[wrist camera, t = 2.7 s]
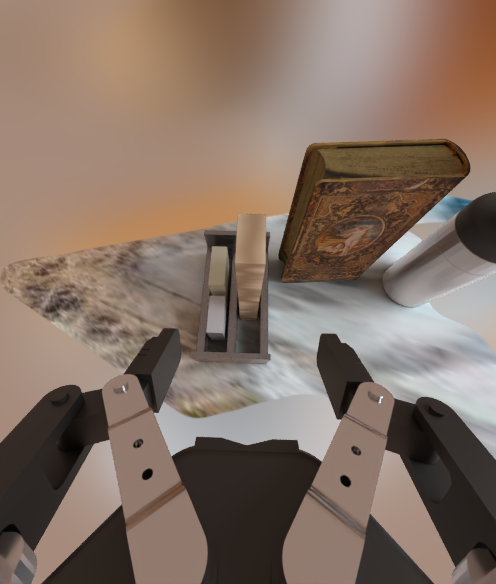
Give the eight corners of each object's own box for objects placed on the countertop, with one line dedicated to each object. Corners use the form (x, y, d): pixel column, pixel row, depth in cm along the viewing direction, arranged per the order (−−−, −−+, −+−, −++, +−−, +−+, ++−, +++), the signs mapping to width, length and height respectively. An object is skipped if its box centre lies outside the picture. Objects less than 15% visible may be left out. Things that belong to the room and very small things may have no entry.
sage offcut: (230, 270, 47) (227, 246, 38) (228, 303, 44) (224, 285, 36) (218, 270, 47) (212, 246, 38) (215, 303, 44) (208, 284, 36)
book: (355, 255, 48) (457, 138, 25) (361, 279, 46) (478, 176, 23) (277, 259, 48) (306, 143, 25) (280, 283, 46) (314, 182, 23)
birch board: (256, 290, 45) (265, 214, 25) (256, 319, 43) (265, 264, 23) (241, 289, 45) (237, 213, 25) (240, 319, 43) (235, 263, 23)
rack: (266, 255, 48) (269, 232, 41) (265, 363, 40) (270, 359, 33) (211, 253, 48) (204, 230, 41) (200, 361, 40) (189, 357, 33)
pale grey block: (228, 308, 44) (225, 296, 37) (226, 340, 42) (222, 332, 35) (215, 308, 44) (209, 295, 37) (212, 340, 42) (206, 332, 35)
